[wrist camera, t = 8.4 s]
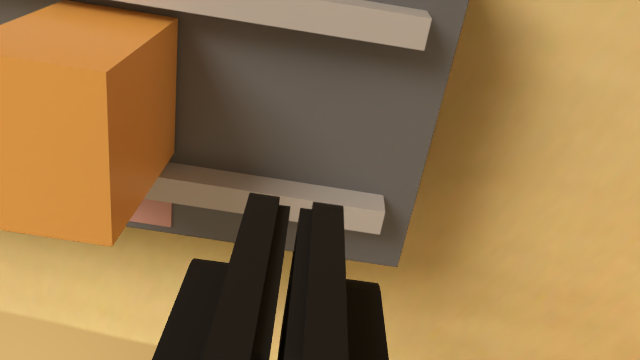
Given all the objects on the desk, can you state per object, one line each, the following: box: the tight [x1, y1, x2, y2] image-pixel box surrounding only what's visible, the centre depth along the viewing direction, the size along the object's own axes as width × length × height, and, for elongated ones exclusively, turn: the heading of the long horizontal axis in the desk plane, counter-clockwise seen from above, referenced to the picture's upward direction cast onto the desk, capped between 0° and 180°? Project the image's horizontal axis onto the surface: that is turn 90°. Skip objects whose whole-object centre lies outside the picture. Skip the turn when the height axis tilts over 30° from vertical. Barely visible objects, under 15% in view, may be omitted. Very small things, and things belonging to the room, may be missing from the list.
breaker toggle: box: [0, 0, 178, 247], centre depth 13 cm, size 3×4×5 cm
